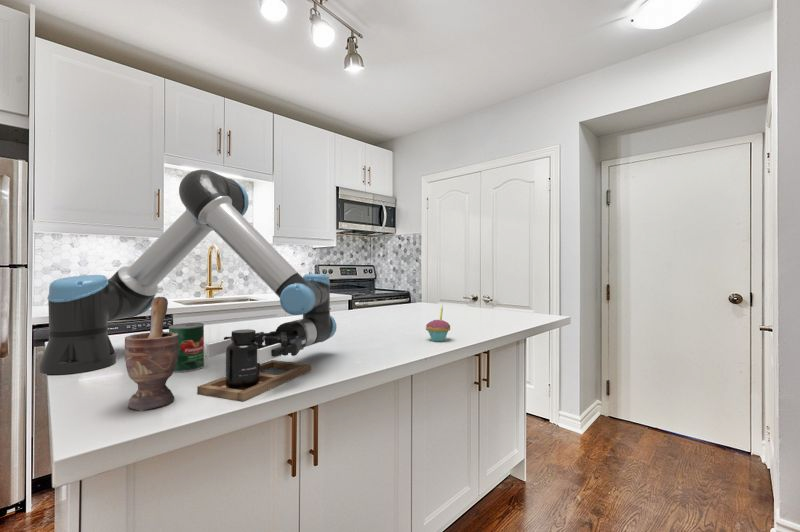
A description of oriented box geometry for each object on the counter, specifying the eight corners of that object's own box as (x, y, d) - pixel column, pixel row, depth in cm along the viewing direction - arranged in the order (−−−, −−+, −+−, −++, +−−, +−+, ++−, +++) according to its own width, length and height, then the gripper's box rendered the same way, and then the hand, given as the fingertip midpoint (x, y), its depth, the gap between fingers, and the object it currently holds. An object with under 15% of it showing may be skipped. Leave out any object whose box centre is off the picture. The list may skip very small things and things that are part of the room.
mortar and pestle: (121, 398, 76) (120, 297, 76) (171, 388, 82) (170, 295, 82) (127, 415, 67) (127, 302, 67) (182, 404, 73) (182, 299, 73)
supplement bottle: (247, 393, 78) (248, 334, 78) (218, 390, 79) (218, 333, 79) (266, 382, 85) (266, 328, 85) (238, 380, 86) (238, 327, 86)
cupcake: (438, 336, 139) (438, 304, 139) (455, 340, 133) (455, 306, 132) (420, 340, 134) (420, 305, 134) (438, 344, 127) (438, 307, 127)
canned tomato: (194, 372, 94) (193, 327, 94) (161, 372, 94) (161, 327, 94) (209, 363, 102) (209, 322, 102) (180, 363, 102) (180, 322, 102)
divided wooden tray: (197, 393, 79) (197, 386, 79) (272, 365, 100) (272, 359, 100) (243, 401, 74) (243, 393, 74) (311, 370, 96) (311, 364, 96)
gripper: (337, 353, 95) (281, 378, 75) (257, 346, 104) (188, 365, 84) (337, 323, 95) (281, 339, 75) (256, 318, 104) (188, 331, 84)
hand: (232, 353), depth 79 cm, fingers open, 13 cm apart
